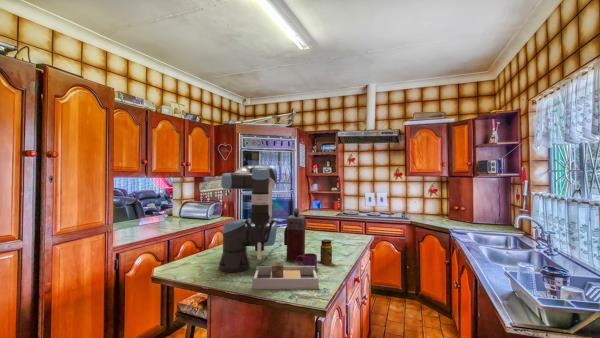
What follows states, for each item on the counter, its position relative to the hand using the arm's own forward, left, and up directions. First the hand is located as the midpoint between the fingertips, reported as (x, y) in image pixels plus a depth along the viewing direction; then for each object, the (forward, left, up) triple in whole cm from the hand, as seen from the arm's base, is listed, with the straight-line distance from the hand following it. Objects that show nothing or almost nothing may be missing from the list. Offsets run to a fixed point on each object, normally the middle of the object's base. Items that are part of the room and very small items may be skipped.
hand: (259, 258), depth 120 cm
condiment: (+32, +25, -10) cm, 42 cm away
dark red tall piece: (+16, +33, -10) cm, 38 cm away
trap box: (+11, 0, -10) cm, 15 cm away
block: (+8, 0, -8) cm, 11 cm away
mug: (+22, +17, -10) cm, 30 cm away
